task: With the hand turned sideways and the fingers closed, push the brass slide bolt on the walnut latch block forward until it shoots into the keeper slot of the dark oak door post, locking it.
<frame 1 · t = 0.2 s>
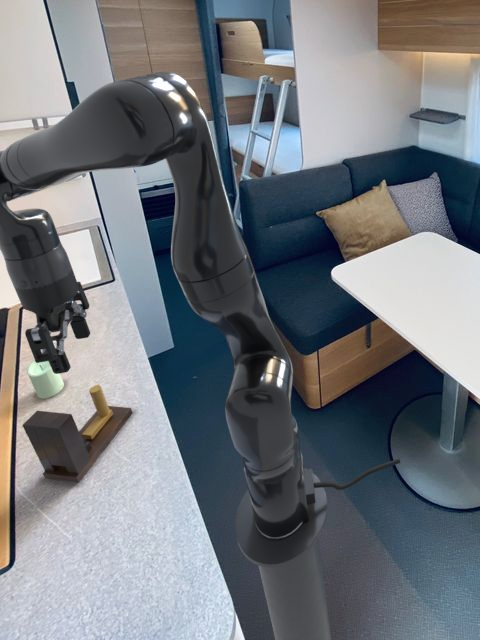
hand: (74, 353, 71), 25 cm above the worktop, tool pointing down, fingers open, 8 cm apart
latch: (97, 436, 84), on the worktop
candle: (51, 390, 96), on the worktop
bolt: (93, 411, 83), point 6 cm above the worktop, slide at 0.0 cm
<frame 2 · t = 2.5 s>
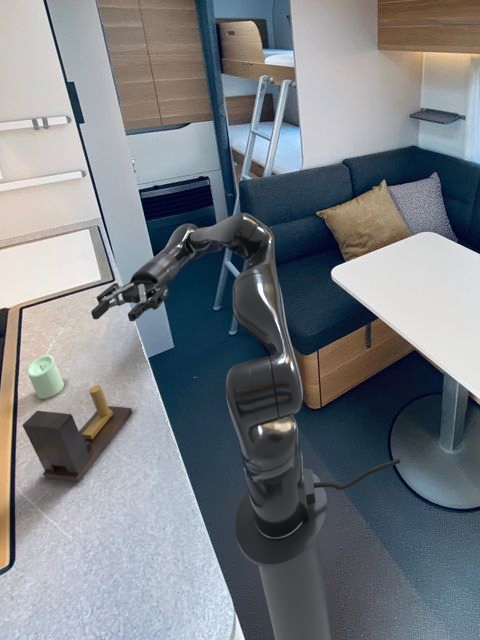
hand: (111, 317, 88), 20 cm above the worktop, tool horizontal, fingers open, 8 cm apart
nothing on the worktop moved.
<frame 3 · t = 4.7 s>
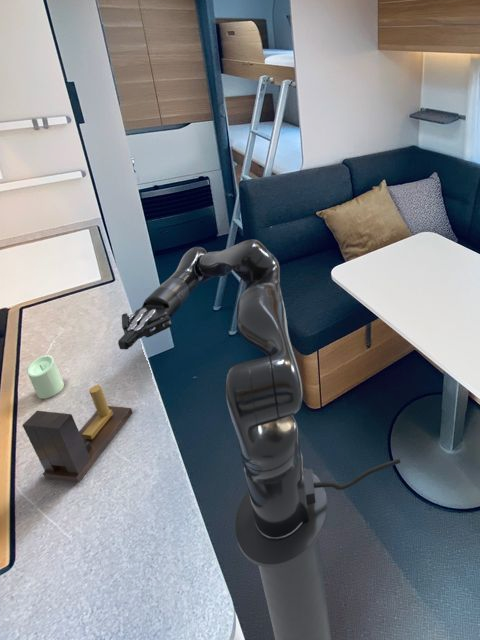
hand: (121, 346, 91), 13 cm above the worktop, tool horizontal, fingers closed
nothing on the worktop moved.
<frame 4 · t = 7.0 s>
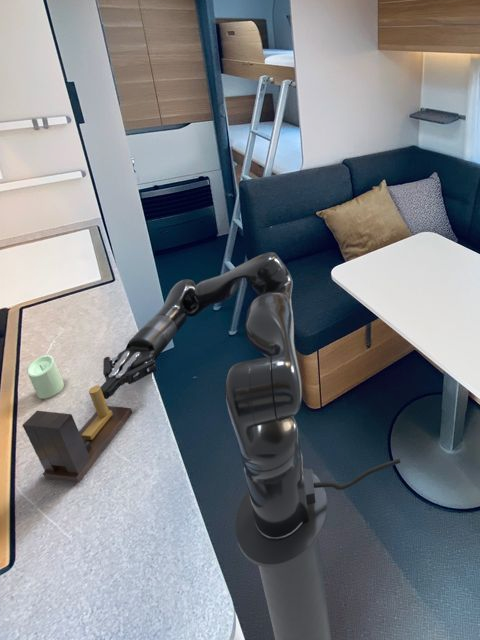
hand: (102, 395, 85), 7 cm above the worktop, tool horizontal, fingers closed
bolt: (92, 412, 83), point 6 cm above the worktop, slide at 0.1 cm, touching gripper
everything else where it was.
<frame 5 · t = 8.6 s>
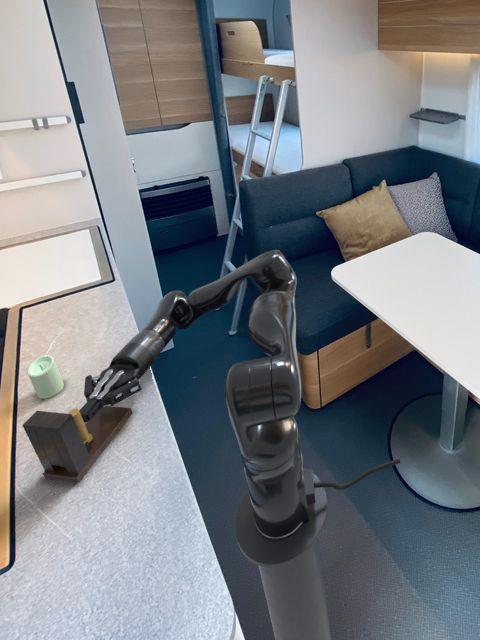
hand: (81, 419, 80), 7 cm above the worktop, tool horizontal, fingers closed
bolt: (70, 437, 78), point 6 cm above the worktop, slide at 5.7 cm, touching gripper
everything else where it was.
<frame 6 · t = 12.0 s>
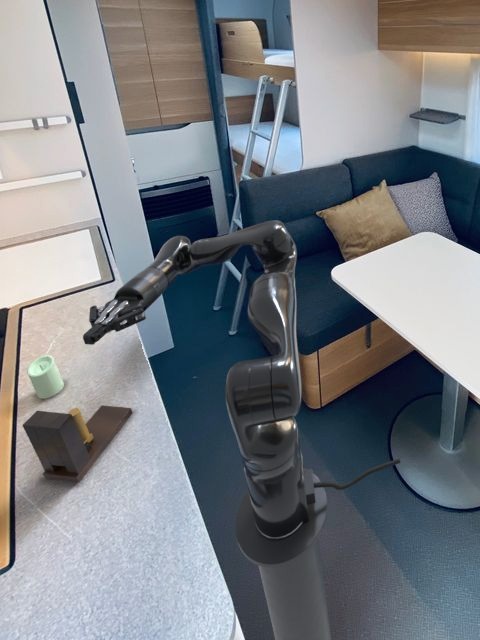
hand: (87, 341, 81), 21 cm above the worktop, tool horizontal, fingers closed
bolt: (71, 436, 78), point 6 cm above the worktop, slide at 5.5 cm
everything else where it was.
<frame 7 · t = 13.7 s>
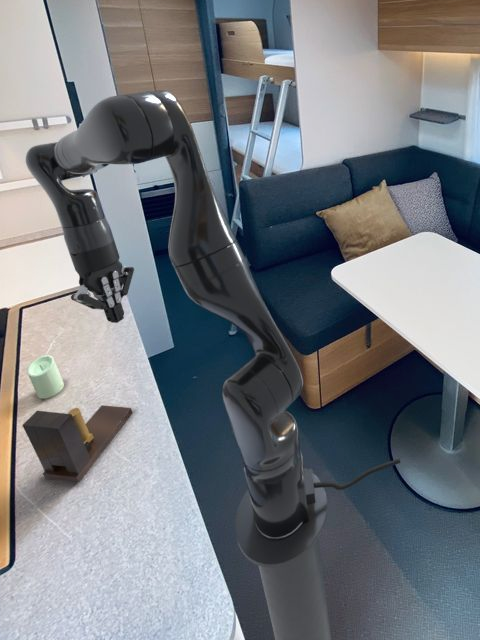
hand: (117, 320, 84), 22 cm above the worktop, tool pointing down, fingers closed
nothing on the worktop moved.
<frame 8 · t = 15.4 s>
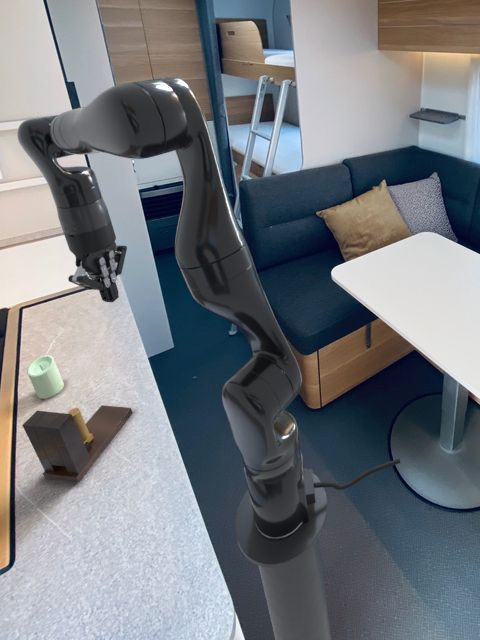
hand: (111, 299, 83), 27 cm above the worktop, tool pointing down, fingers closed
nothing on the worktop moved.
at the end: bolt slide at 5.5 cm; candle moved 0.2 cm from its start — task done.
